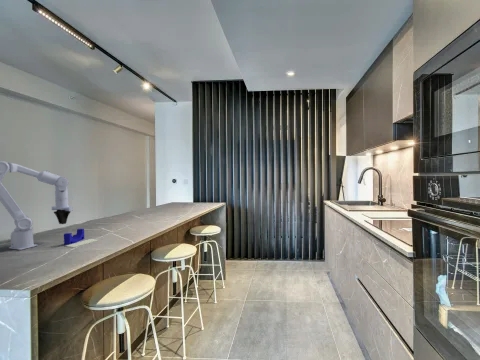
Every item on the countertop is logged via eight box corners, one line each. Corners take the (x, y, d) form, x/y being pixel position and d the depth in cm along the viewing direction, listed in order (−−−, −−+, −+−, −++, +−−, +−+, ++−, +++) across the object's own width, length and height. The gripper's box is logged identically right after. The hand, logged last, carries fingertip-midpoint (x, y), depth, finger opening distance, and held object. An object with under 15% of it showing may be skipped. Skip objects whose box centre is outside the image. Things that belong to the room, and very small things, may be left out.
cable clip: (76, 239, 144) (76, 228, 144) (84, 239, 144) (84, 228, 144) (61, 245, 132) (60, 233, 132) (70, 245, 132) (69, 233, 132)
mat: (65, 246, 130) (65, 245, 130) (90, 239, 142) (90, 238, 142) (73, 247, 127) (73, 246, 127) (98, 240, 140) (98, 239, 140)
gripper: (78, 198, 141) (78, 223, 141) (60, 197, 146) (61, 221, 147) (65, 199, 134) (66, 225, 135) (47, 199, 140) (48, 223, 140)
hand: (62, 223), depth 140 cm, fingers closed
